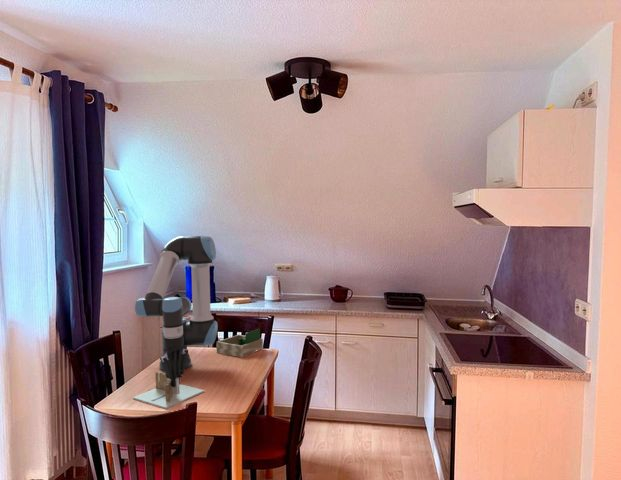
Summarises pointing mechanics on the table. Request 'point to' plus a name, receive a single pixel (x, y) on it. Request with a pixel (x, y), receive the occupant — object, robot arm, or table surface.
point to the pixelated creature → (250, 337)
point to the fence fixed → (161, 380)
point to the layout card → (159, 396)
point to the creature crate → (238, 346)
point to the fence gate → (168, 390)
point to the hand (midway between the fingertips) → (176, 393)
